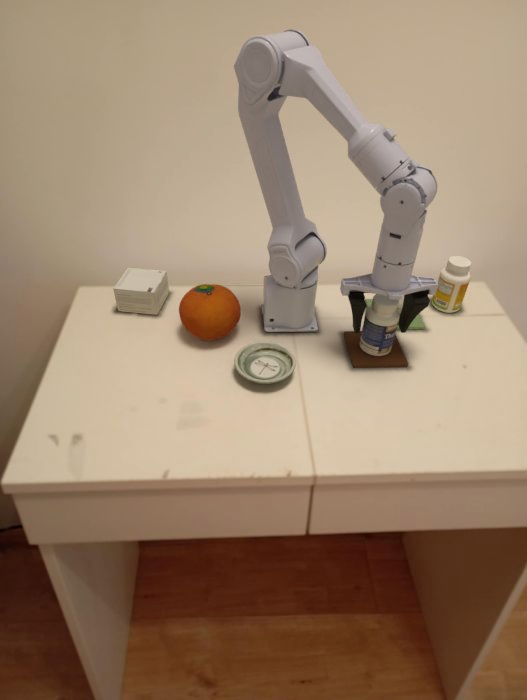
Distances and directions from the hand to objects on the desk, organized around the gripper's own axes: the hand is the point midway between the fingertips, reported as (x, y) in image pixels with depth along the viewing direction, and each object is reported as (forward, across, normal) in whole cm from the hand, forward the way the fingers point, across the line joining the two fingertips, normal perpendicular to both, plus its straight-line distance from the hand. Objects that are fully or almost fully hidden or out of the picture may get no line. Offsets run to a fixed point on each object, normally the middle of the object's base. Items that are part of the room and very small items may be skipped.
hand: (378, 329), depth 77 cm
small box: (+5, -41, +15) cm, 44 cm away
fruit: (+5, -28, +6) cm, 29 cm away
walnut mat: (+4, 0, 0) cm, 4 cm away
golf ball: (+4, +6, +10) cm, 12 cm away
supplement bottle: (+5, +17, +13) cm, 22 cm away
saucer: (+5, -19, -5) cm, 20 cm away
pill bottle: (+4, 0, 0) cm, 4 cm away
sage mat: (+4, +6, +10) cm, 12 cm away
